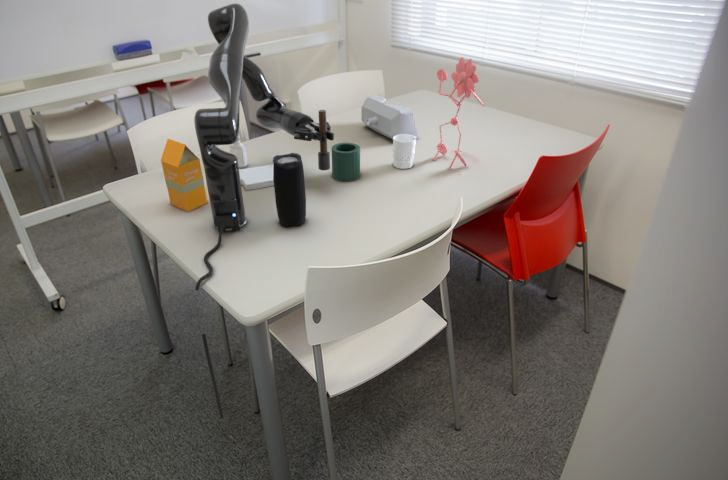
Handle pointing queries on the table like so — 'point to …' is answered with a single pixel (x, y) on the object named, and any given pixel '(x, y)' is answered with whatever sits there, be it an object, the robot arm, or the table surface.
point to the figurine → (463, 83)
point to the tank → (387, 117)
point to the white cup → (403, 150)
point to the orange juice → (183, 176)
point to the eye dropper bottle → (239, 152)
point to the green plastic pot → (345, 161)
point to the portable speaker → (289, 189)
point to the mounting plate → (257, 177)
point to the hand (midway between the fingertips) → (329, 138)
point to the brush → (323, 154)
